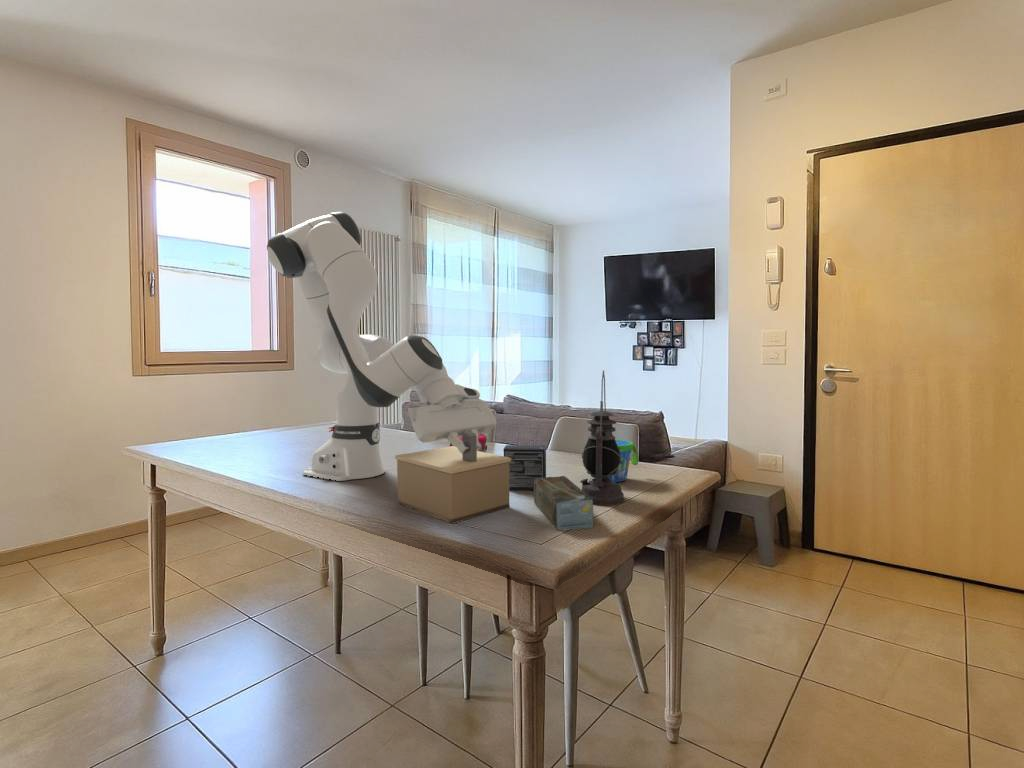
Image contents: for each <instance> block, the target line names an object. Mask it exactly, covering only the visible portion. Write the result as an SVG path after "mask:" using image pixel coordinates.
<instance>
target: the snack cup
mask: <svg viewBox="0 0 1024 768" xmlns="http://www.w3.org/2000/svg"><path fill="white" fill-rule="evenodd" d="M615 441H616V444H617V446H618V448H619V451H620V454H621V460H622V463H621V464H620V466H619V468H618V469H617V471H616V474H615V475H613V476H612V477H611V478H608V479H610V480H611V482H614V483H621V482H625V481H626V480H627V478H628V472H629V469H630V468H629V466H630V461H631V465H632V466H637V465H638V464H639V454H638V453H639V452H638V449H637V447H636V445H635V444H634V443H633V441H630V440H623V439H615ZM631 454H632V457H631Z"/></svg>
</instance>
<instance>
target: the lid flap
mask: <svg viewBox="0 0 1024 768" xmlns="http://www.w3.org/2000/svg"><path fill="white" fill-rule="evenodd" d="M462 441H463V442H467V445H468V446H469V450H468V451H467V452H465V453H460V452H459V450H458V448H457V447H455V446H451V447H450V446H445V447H440V448H433V449H428V450H427V449H426V450H421V451H416V452H415V451H414V452H409V453H404V454H397V455H394V457H395V458H394V459H395V460H396V461H397V460H401V461H405V462H408V463H412V464H416V465H419V466H423V467H427V468H431V469H434V470H438V471H442V472H446V473H449V474H454V473H458V472H463V471H468V470H473V469H478V468H482V467H487V466H492V465H497V464H502V463H506V462H511V458H509V457H504V455H498V454H494V453H489V452H486V453H485V452H480V451H477V436H475V435H470V434H465V435H462Z"/></svg>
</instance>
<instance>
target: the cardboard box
mask: <svg viewBox="0 0 1024 768" xmlns="http://www.w3.org/2000/svg"><path fill="white" fill-rule="evenodd" d="M396 471H397V473H396V474H397V476H396V477H397V504H398V503H400V504H399V505H401V504H402V506H404V505H405V506H404V507H406V506H408V507H407V508H409V507H411V508H410V509H412V508H413V509H412V510H415V509H416V510H415V511H417V510H419V511H418V512H420V511H421V512H420V513H423V512H424V513H423V514H425V513H426V515H428V514H429V515H428V516H431V515H432V516H431V517H433V516H434V518H436V517H437V519H439V518H440V519H439V520H441V519H442V520H441V521H444V520H445V521H444V522H447V521H448V522H447V523H449V522H450V523H449V524H454V523H453V522H456V523H458V522H457V521H459V522H462V521H461V520H463V521H465V519H466V520H469V519H468V518H470V519H472V517H473V518H476V517H480V516H483V515H487V514H490V513H494V512H497V511H500V510H501V511H502V510H504V509H507V508H510V490H509V462H506V463H502V464H497V465H492V466H487V467H482V468H478V469H473V470H468V471H463V472H458V473H454V474H449V473H446V472H442V471H438V470H434V469H431V468H427V467H423V466H419V465H416V464H412V463H408V462H405V461H401V460H397V459H396ZM486 513H487V514H486Z"/></svg>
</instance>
